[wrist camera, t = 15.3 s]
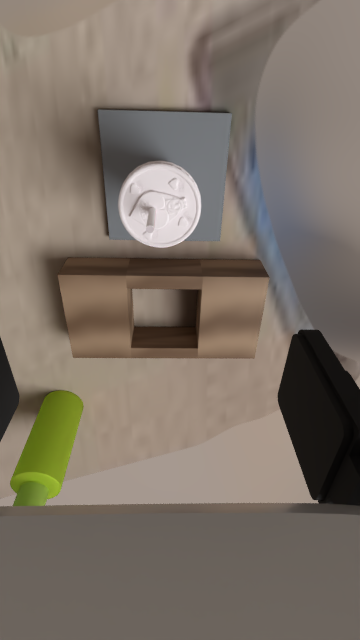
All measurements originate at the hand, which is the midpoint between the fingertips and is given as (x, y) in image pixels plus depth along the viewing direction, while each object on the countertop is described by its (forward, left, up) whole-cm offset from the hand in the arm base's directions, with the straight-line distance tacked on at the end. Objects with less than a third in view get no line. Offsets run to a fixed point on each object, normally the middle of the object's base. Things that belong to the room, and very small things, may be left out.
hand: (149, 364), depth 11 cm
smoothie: (0, 0, -28) cm, 28 cm away
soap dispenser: (+32, -15, -28) cm, 45 cm away
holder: (+14, 0, -28) cm, 31 cm away
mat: (0, 0, -28) cm, 28 cm away
